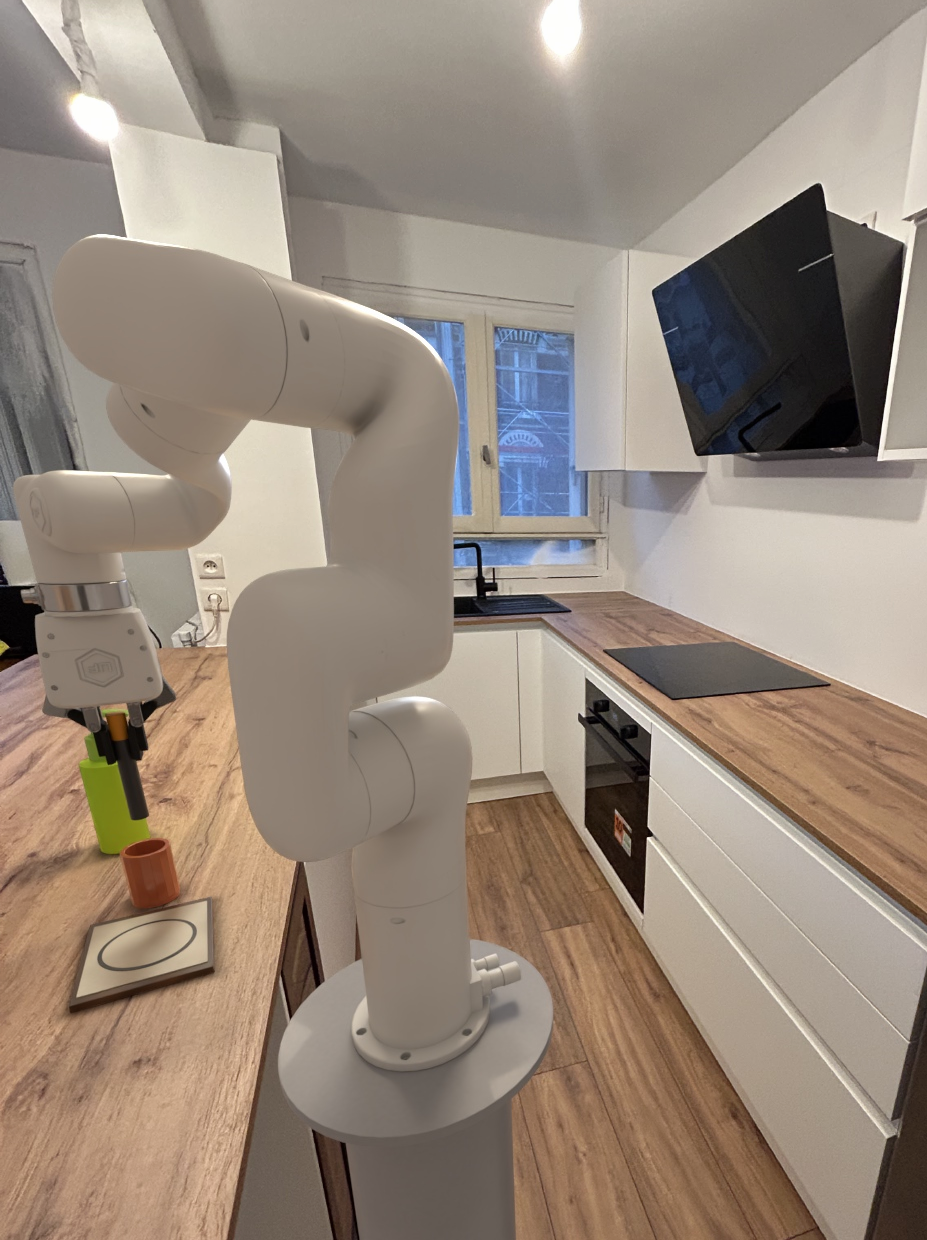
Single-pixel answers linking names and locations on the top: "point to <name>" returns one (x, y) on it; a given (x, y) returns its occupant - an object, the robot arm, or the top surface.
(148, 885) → the pen pot
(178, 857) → the top surface
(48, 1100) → the top surface
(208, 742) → the top surface
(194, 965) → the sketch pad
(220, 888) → the top surface
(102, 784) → the soap dispenser
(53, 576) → the robot arm
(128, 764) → the marker
